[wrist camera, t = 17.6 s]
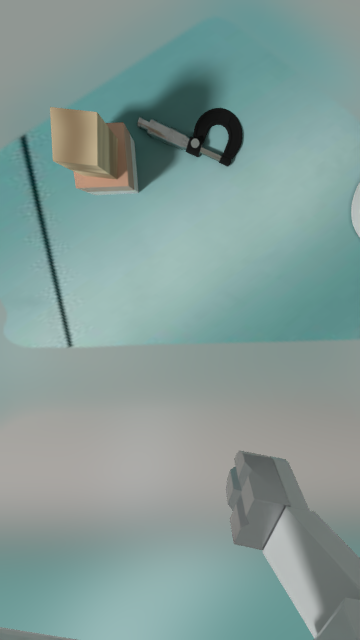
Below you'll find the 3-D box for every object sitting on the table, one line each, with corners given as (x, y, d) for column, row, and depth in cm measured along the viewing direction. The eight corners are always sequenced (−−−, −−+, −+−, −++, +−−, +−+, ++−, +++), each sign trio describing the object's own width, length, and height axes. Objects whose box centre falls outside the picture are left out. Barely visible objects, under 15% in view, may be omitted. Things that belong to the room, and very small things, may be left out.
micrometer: (249, 122, 38) (253, 115, 36) (228, 173, 41) (231, 169, 38) (153, 77, 37) (151, 66, 34) (137, 132, 39) (134, 126, 37)
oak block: (118, 139, 32) (97, 112, 25) (117, 179, 34) (97, 165, 26) (81, 135, 32) (50, 107, 25) (82, 175, 34) (53, 160, 26)
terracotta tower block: (130, 133, 36) (123, 122, 32) (134, 190, 38) (128, 186, 34) (79, 135, 36) (67, 124, 32) (87, 191, 38) (76, 187, 34)
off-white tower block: (134, 142, 39) (129, 133, 36) (138, 193, 42) (134, 189, 38) (89, 144, 40) (78, 135, 36) (95, 195, 42) (86, 191, 38)
